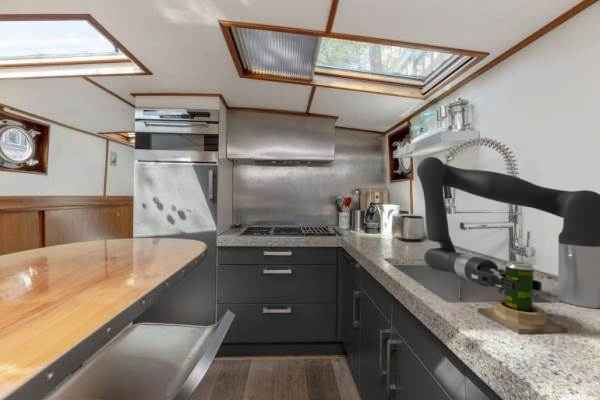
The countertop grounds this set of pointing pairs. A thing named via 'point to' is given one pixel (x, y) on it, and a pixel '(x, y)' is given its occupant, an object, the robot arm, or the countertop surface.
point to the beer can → (520, 286)
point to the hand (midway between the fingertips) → (528, 286)
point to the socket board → (523, 327)
